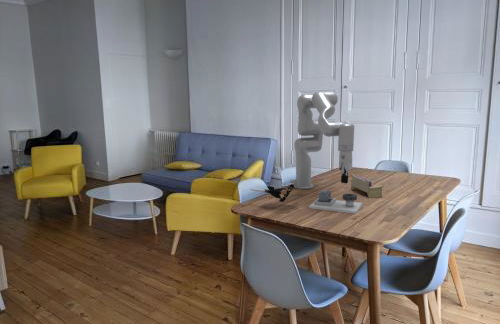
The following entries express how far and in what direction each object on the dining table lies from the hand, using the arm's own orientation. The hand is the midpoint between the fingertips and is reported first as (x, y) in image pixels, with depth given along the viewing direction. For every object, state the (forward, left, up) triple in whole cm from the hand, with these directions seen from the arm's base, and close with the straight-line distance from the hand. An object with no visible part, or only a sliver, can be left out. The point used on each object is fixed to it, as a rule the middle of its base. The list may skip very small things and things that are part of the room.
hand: (344, 182), depth 199 cm
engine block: (-10, 0, -12) cm, 16 cm away
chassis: (-4, 0, -13) cm, 14 cm away
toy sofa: (+5, +33, -14) cm, 36 cm away
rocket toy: (-36, -15, -14) cm, 41 cm away
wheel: (+3, -1, -8) cm, 9 cm away
